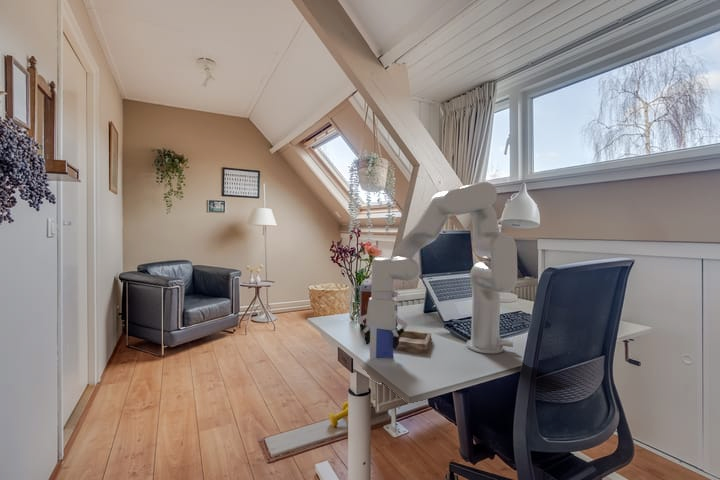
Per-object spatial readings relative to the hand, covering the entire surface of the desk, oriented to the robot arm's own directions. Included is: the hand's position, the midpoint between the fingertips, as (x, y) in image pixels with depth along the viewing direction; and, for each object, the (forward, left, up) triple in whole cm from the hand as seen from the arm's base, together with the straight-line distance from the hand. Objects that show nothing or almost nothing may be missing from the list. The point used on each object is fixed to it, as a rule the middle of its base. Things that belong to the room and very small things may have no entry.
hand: (381, 345), depth 112 cm
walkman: (0, 0, -4) cm, 4 cm away
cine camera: (+15, -34, -4) cm, 37 cm away
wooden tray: (-7, -15, -4) cm, 17 cm away
